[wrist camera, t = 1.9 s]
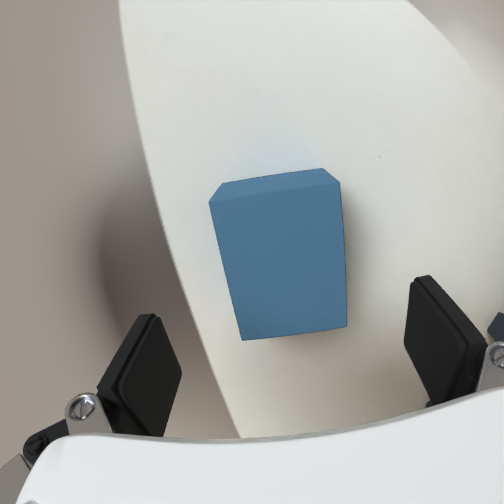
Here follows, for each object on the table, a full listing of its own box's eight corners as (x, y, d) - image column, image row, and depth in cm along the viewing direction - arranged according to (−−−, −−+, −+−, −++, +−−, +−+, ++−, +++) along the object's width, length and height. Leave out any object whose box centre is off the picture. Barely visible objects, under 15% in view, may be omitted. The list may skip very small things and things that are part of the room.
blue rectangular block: (323, 168, 16) (339, 181, 12) (333, 288, 19) (346, 327, 15) (221, 183, 16) (208, 201, 13) (246, 300, 19) (241, 341, 16)
